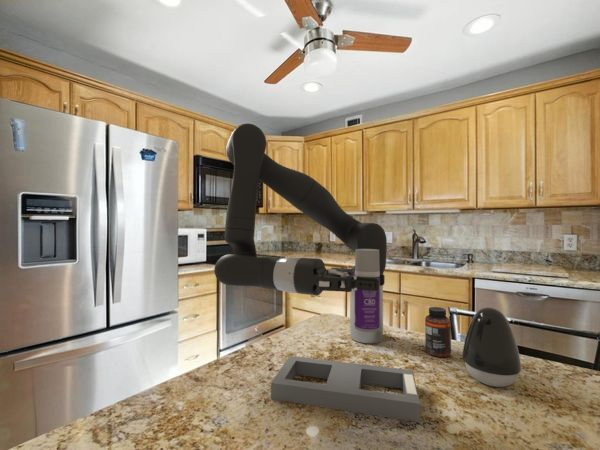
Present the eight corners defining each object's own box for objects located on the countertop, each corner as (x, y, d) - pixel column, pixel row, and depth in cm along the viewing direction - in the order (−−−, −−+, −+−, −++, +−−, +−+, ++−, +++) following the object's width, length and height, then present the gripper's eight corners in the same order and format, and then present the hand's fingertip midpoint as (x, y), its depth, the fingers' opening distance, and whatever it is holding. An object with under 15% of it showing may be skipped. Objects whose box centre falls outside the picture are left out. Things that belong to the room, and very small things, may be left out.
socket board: (289, 369, 67) (289, 355, 67) (412, 384, 61) (412, 369, 61) (270, 398, 56) (270, 381, 56) (420, 422, 49) (420, 402, 49)
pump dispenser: (456, 381, 62) (456, 308, 62) (469, 364, 70) (469, 299, 70) (516, 401, 55) (516, 318, 55) (524, 379, 63) (523, 307, 63)
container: (365, 334, 54) (365, 251, 54) (349, 326, 58) (349, 249, 58) (384, 330, 56) (385, 250, 56) (368, 322, 60) (368, 248, 60)
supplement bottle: (445, 348, 79) (445, 305, 79) (455, 358, 73) (454, 312, 73) (422, 348, 79) (422, 305, 79) (429, 357, 73) (429, 311, 73)
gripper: (283, 261, 57) (374, 266, 49) (312, 254, 70) (388, 258, 62) (283, 300, 57) (374, 312, 49) (312, 286, 70) (387, 294, 62)
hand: (381, 282), depth 56 cm, fingers closed on container, 4 cm apart
